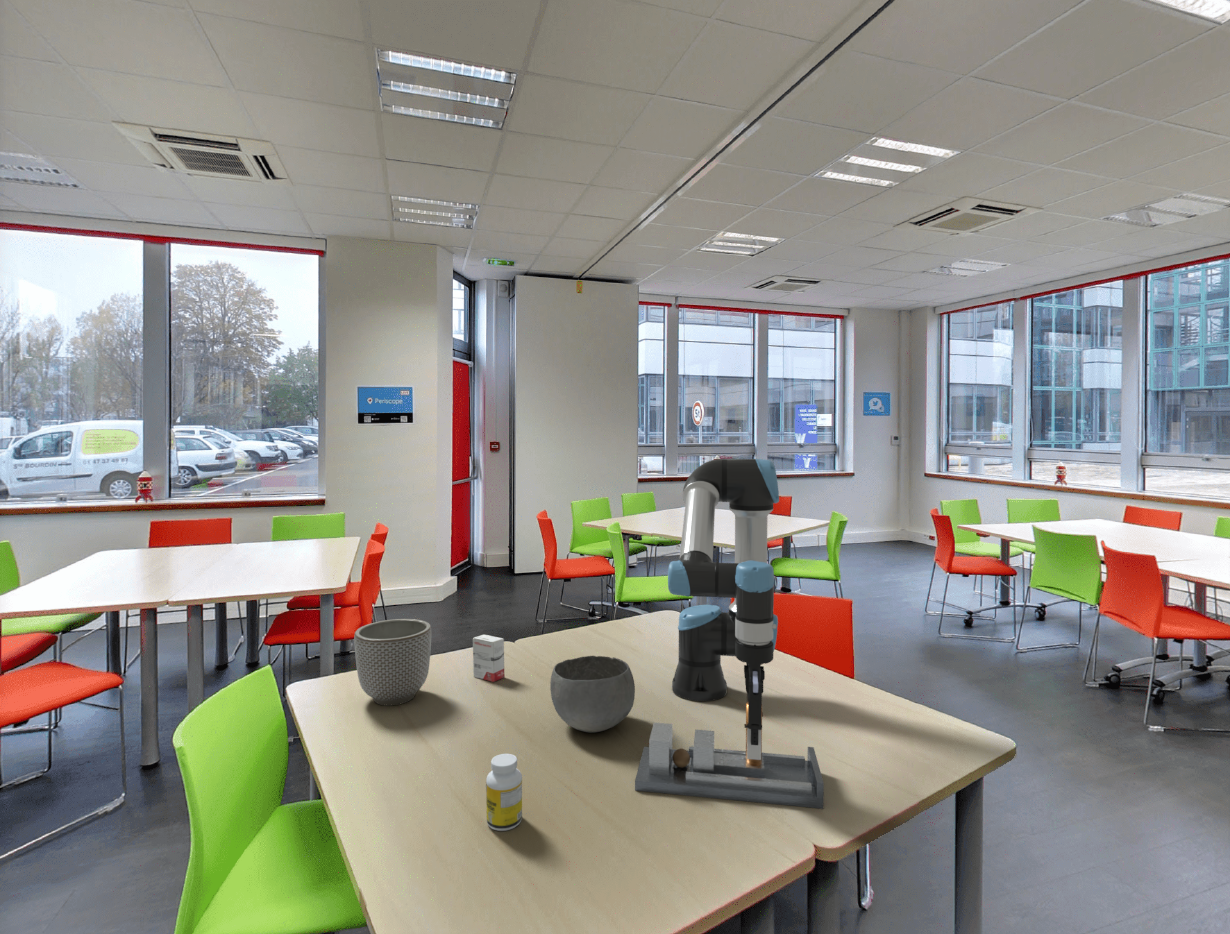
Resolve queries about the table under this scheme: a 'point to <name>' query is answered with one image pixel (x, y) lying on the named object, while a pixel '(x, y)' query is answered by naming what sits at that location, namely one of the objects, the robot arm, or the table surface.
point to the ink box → (488, 657)
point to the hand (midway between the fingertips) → (753, 753)
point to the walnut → (681, 758)
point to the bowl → (592, 692)
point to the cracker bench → (781, 784)
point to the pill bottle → (504, 793)
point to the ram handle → (723, 758)
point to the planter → (393, 659)
